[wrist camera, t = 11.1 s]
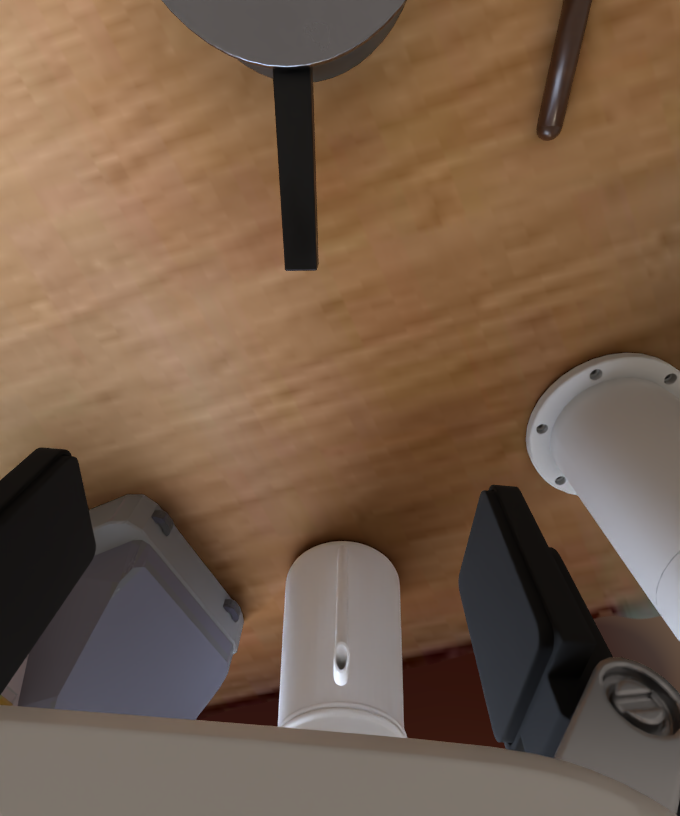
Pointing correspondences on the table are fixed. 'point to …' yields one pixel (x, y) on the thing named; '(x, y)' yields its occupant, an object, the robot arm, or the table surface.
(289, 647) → the coffeepot
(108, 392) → the table surface
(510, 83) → the table surface
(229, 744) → the robot arm
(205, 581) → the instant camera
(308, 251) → the saucepan
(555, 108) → the spatula
